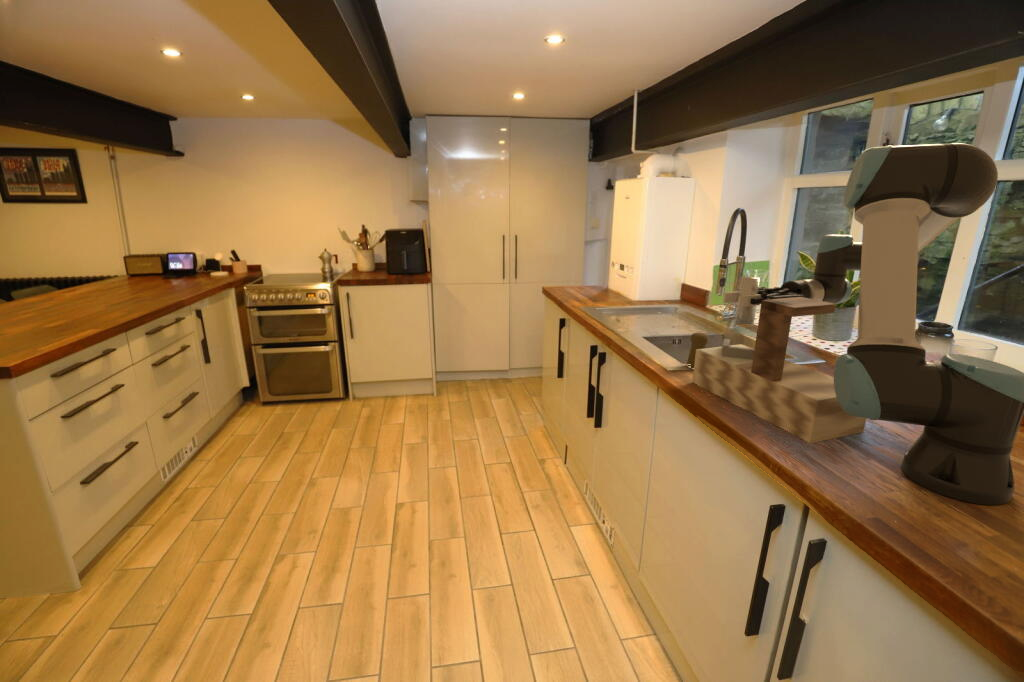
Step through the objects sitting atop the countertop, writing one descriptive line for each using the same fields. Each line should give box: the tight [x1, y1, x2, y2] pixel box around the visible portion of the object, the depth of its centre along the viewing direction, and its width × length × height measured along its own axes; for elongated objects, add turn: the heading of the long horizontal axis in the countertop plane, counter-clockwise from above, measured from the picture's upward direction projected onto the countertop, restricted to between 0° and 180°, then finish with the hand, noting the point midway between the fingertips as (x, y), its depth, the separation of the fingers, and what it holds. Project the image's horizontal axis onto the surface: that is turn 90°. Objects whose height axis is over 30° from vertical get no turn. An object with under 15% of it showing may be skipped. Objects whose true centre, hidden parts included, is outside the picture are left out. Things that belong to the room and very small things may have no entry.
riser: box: [692, 343, 867, 444], centre depth 120 cm, size 38×16×10 cm, turn 18°
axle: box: [735, 276, 761, 325], centre depth 124 cm, size 4×4×12 cm
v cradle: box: [698, 338, 755, 366], centre depth 127 cm, size 14×14×3 cm
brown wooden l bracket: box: [751, 297, 837, 382], centre depth 110 cm, size 9×12×18 cm
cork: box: [686, 332, 709, 368], centre depth 147 cm, size 6×6×11 cm
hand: (731, 299), depth 122 cm, fingers closed on axle, 4 cm apart
